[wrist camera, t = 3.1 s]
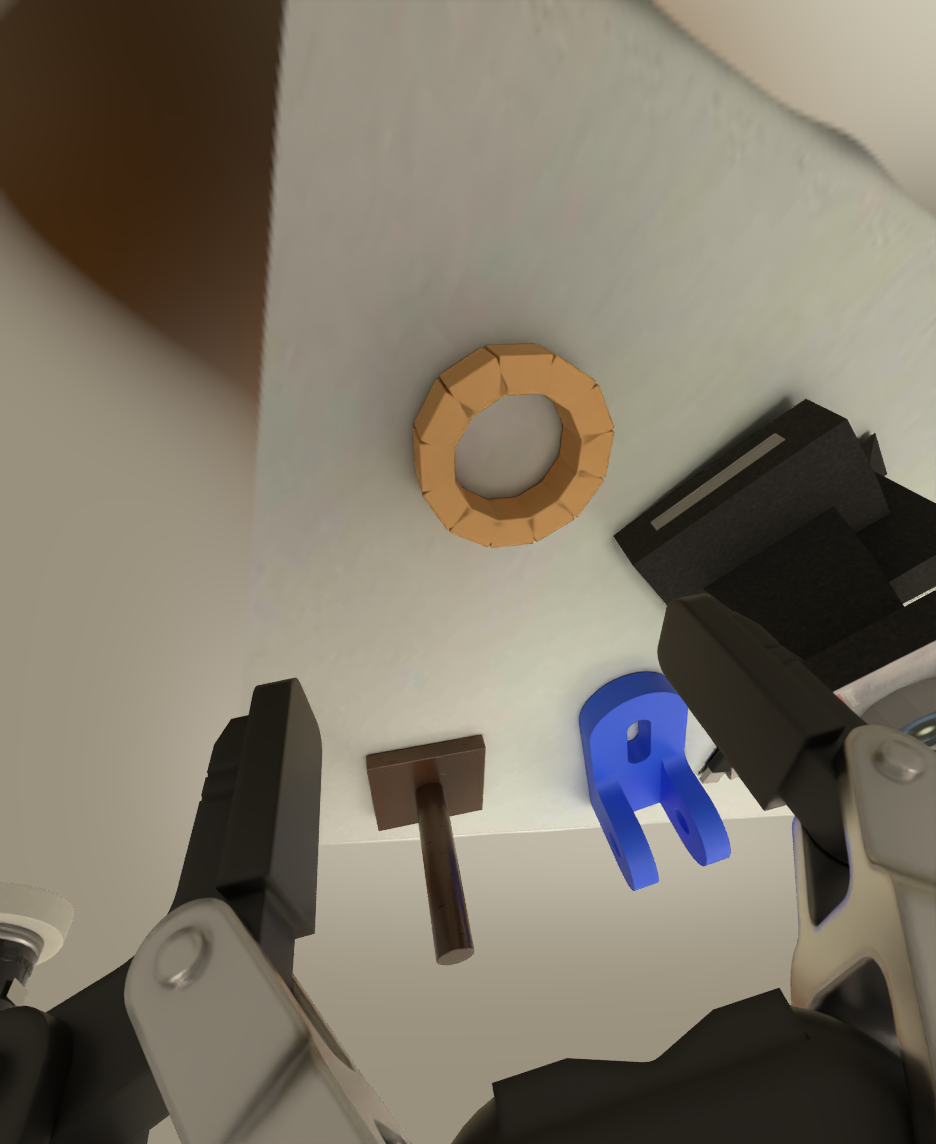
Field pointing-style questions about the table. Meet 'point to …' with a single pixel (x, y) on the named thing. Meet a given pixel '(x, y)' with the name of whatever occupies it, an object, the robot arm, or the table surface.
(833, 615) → the camera
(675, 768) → the bracket
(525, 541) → the orange segmented ring
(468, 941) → the brown peg stand
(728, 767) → the usb flash drive
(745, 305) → the table surface
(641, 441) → the table surface
